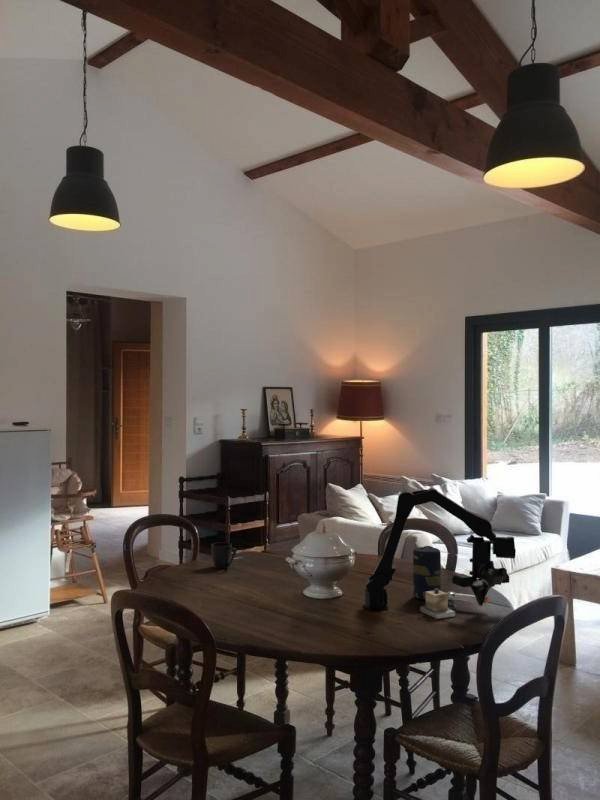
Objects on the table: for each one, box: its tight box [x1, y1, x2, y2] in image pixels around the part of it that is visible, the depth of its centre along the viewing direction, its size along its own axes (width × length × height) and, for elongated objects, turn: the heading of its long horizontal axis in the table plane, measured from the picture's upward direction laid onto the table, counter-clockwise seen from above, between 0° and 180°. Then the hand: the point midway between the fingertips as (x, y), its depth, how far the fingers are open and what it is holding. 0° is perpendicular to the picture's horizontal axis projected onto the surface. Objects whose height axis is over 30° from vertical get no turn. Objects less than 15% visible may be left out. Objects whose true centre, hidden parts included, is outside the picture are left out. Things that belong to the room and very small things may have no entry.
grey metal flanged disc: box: [448, 600, 458, 610], centre depth 231 cm, size 4×4×2 cm
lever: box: [445, 591, 490, 605], centre depth 229 cm, size 3×14×2 cm, turn 67°
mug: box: [210, 541, 237, 569], centre depth 285 cm, size 8×12×10 cm
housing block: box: [425, 588, 448, 611], centre depth 225 cm, size 5×5×6 cm
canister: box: [412, 545, 442, 601], centre depth 242 cm, size 10×10×18 cm
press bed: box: [420, 605, 456, 620], centre depth 224 cm, size 7×9×2 cm
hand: (480, 605), depth 225 cm, fingers closed
